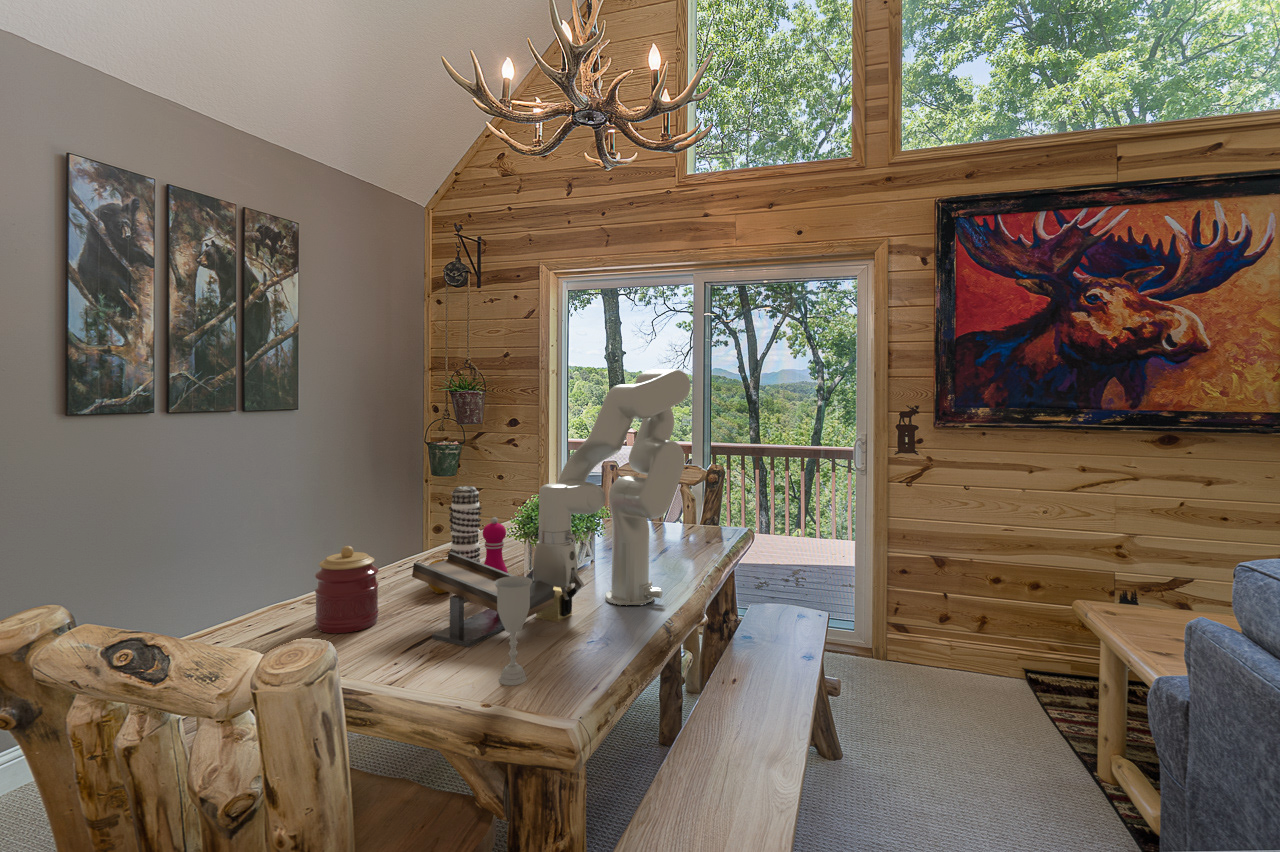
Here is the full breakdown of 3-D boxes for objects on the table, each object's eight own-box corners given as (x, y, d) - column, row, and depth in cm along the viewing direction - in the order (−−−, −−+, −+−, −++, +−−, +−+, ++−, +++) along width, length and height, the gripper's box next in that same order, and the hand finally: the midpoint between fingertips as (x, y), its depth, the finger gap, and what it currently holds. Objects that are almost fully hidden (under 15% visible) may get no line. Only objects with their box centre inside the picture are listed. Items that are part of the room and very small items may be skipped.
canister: (391, 618, 147) (391, 542, 146) (348, 638, 135) (348, 555, 134) (346, 611, 151) (346, 538, 151) (301, 629, 139) (300, 549, 138)
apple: (462, 595, 165) (462, 561, 165) (425, 599, 162) (425, 563, 161) (458, 585, 173) (458, 553, 173) (423, 589, 170) (423, 555, 170)
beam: (553, 609, 141) (557, 584, 141) (518, 627, 130) (522, 600, 129) (450, 568, 154) (453, 545, 153) (409, 582, 142) (412, 557, 141)
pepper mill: (501, 597, 163) (501, 520, 163) (475, 595, 165) (475, 518, 164) (512, 589, 171) (512, 515, 170) (487, 587, 172) (487, 514, 171)
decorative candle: (476, 576, 182) (477, 489, 181) (444, 576, 183) (444, 489, 182) (485, 568, 192) (485, 485, 191) (454, 567, 192) (454, 485, 191)
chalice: (496, 671, 120) (497, 576, 119) (533, 670, 120) (534, 575, 119) (491, 688, 112) (491, 587, 111) (530, 687, 113) (530, 587, 112)
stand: (526, 617, 149) (526, 578, 148) (469, 647, 131) (469, 603, 130) (492, 611, 153) (492, 573, 153) (431, 638, 135) (432, 595, 135)
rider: (571, 614, 152) (572, 589, 151) (558, 622, 146) (558, 596, 146) (550, 610, 154) (550, 586, 154) (536, 618, 149) (536, 592, 149)
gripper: (594, 537, 149) (593, 613, 150) (533, 530, 156) (532, 602, 157) (578, 544, 142) (577, 623, 143) (515, 535, 150) (514, 611, 150)
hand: (554, 611), depth 150 cm, fingers closed on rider, 6 cm apart
